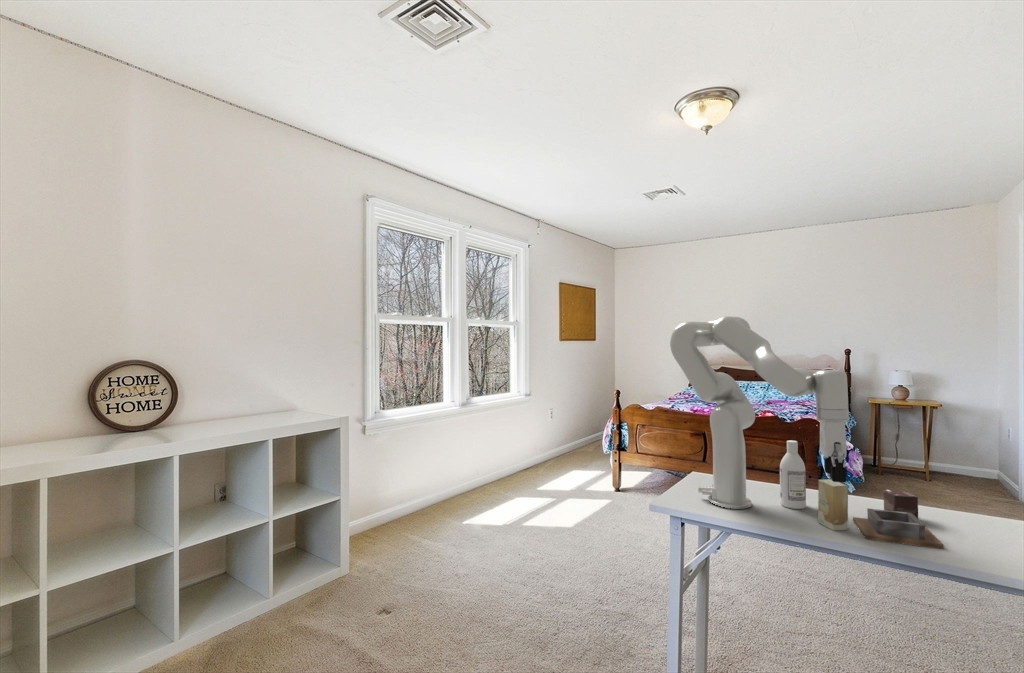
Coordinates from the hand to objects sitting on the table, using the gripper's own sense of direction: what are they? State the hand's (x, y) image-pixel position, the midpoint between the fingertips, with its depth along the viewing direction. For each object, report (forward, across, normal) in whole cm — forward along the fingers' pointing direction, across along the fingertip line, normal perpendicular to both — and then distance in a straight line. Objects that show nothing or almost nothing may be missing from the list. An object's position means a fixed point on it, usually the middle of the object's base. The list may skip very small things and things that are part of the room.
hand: (835, 477), depth 137 cm
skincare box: (+14, 0, -1) cm, 14 cm away
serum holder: (+14, 0, +13) cm, 19 cm away
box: (+14, -14, +18) cm, 27 cm away
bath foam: (+14, -15, -9) cm, 22 cm away
